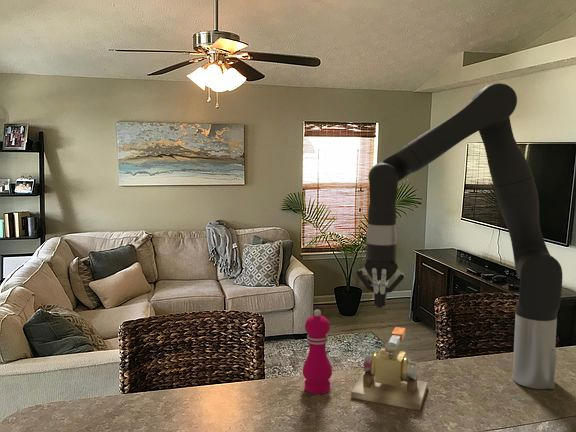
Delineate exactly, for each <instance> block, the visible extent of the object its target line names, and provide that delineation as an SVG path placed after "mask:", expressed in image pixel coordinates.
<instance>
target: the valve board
mask: <svg viewBox="0 0 576 432" xmlns="http://www.w3.org/2000/svg"><path fill="white" fill-rule="evenodd" d="M427 390H428V381H425V380H418V375H417V376H416V379H415V380H414V379H408V381H407V382H405V381H403V382H402V384H401V386H394V385H388V384H383V383H377V382H375V377H374V376H371V372H365V371H363V373H362V374H361V375H360V377H359V379H357V382H356V384H355V385H354V386H353V387H352V390H351V392H350V397H351V399H355V400H356V399H357V400H361V401H368V402H373V403H378V404H383V405H389V406H395V407H400V408H404V409H409V410H415V411H421V409H422V407H423V403H424V400H425V396H426V393H427Z"/></svg>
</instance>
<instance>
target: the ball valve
mask: <svg viewBox="0 0 576 432" xmlns="http://www.w3.org/2000/svg"><path fill="white" fill-rule="evenodd" d="M363 370H364V371H363V372H371V376H374V377H375V382H377V383H383V384H388V385H394V386H401V384H402V382H403V381H405V382H407V381H408V379H414V380H415V379H416V376H417V377H418V362H417V361H412V360H411V358H410V357H408V356H407V355H406V351H402V350H397V351H396V352H394V353H389V352H386V351H385V348H382V347H381V348H380V349H379V351H378V352H372V355H371V354H365V357H364V361H363Z"/></svg>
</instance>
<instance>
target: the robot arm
mask: <svg viewBox="0 0 576 432" xmlns="http://www.w3.org/2000/svg"><path fill="white" fill-rule="evenodd" d="M517 105H518V97H517V93H516V91H515V90H514V89H513V87H511V86H510V85H508V84H506V83H497V82H496V83H490V84H487V85H486V86H485V87H483V88H481V89H480V90H478V91H477V92H476V93H475V94H474V95H473V98H472V99H471V101H470V102H469V103H468V104H467V105H466V106H464V107H463V108H462V109H460V110H459V111H458V112H457V113H455V114H453V115H452V116H451V117H449V118H448V119H446V120H444V121H443V122H440V123H438V124H437V125H435V126H434V127H432V128H430V129H429V130H427V131H425V132H423V133H422V134H420V135H419V136H418V137H416V138H414V139H413V140H411V141H410V142H408V143H407V144H405V145H404V146H403V147H402V148H401V149H399V150H398V151H397V152H395V153H393V154H392V155H390V156H388V157H386V158H384V159H383V160H382V161H380V162H378V163H377V164H375V165H374V166H372V167H371V169H370V170H369V173H368V182H369V188H368V189H369V204H368V212H367V228H366V238H365V239H366V256H365V257H366V259H365V263H364V266H363V267H362V268H360V269H357V271H356V276H357V277H358V278H359V279H360V281H361V282H362V284H363V285H364V287H365V288H366V289H367V291H369V292H370V291H371V292H373V293H374V294H373V295H374V296H373V297H374V300H373V301H374V302H373V303H374V305H375V306H376V308H378V309H379V308H380V309H383V308H384V307H385V306H386V304H387V294H388V293H393V291H394V290H395V289H396V287H397V286H399V284H400V283H401V282H403V280H404V279H405V277H406V276H407V275H406V273H405V272H402V271H401V270H400V269H399V266H398V264H397V207H396V203H397V202H396V201H397V196H398V186H399V185H398V183H399V182H400V181H402V180H403V179H405V178H406V177H407V176H409V175H410V174H413V173H416V172H418V171H420V170H421V169H423V168H424V167H426V166H428V164H431V163H432V162H434V161H435V160H436V159H438V158H439V157H441V156H443V155H445V153H447V152H448V151H450V149H452V148H453V147H455V146H456V145H458V144H460V142H462V141H464V140H466V139H467V138H468V137H470V136H472V135H473V134H474V135H475V133H477V132H478V133H479V135H480V139H481V140H482V143H483V146H484V150H485V155H486V160H487V165H488V169H489V173H490V178H491V181H492V186H493V190H494V194H495V198H496V200H497V203H498V206H499V207H498V208H499V209H500V213H501V216H502V218H503V221H504V224H505V226H506V228H507V231H508V233H509V237H510V241H511V247H512V254H513V261H514V269H515V272H516V274H517V276H518V278H519V291H518V292H519V294H518V299H517V302H516V304H515V316H514V317H515V319H514V322H515V323H514V339H513V341H514V342H513V357H512V358H513V361H512V379H513V381H514V382H515V383H517V385H520V386H523V387H525V388H530V389H534V390H546V389H550V390H551V389H552V390H555V382H556V381H555V380H556V379H555V378H556V366H557V365H556V364H557V363H556V362H557V349H556V341H557V340H556V338H557V337H556V336H557V322H558V319H557V318H558V311H559V309H560V307H561V299H562V289H563V268H562V265H561V264H560V262H559V261H558V260H557V259H556V258H555V257H554V256H552V255H551V254H550V251H549V250H548V247H547V244H546V241H545V239H544V236H543V233H542V229H541V225H540V201H539V199H540V198H539V194H538V189H537V186H536V185H537V184H536V181H535V177H534V174H533V172H532V169H531V167H530V164H529V162H528V160H527V159H526V157H525V155H524V154H523V152H522V150H521V149H520V147H519V145H518V143H517V141H516V139H515V136H514V133H513V128H512V124H511V118H510V117H511V116H512V114H514V111H515V109H516V108H517ZM368 275H369V276H370V278H371V279H372V281H371V280H370V278H369V276H368ZM393 275H395V276H394V279H395V280H394V281H393V282H392V283H391V285H389V286H388V284H389V281H390V279H391V278H392V276H393Z"/></svg>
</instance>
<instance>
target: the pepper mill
mask: <svg viewBox="0 0 576 432" xmlns="http://www.w3.org/2000/svg"><path fill="white" fill-rule="evenodd" d="M330 328H331V327H330V322H329V320H328V318H326V316H324V315H322V312H321V310H320V309H315V310H313V315H311V316H309V317H308V318H307V319H306V320H305V323H304V330H305V332H306V333H307V335H306V338H307V339H306V341H307V343H308V345H309V346H308V354H307V356H306V359H305V360H304V362H303V366H302V375H303V377H304V378H305V380H304V390H305V391H306V392H307V393H310V394H313V395H323V394H326V393H328V392H329V391H330V389H331V381H330V379H331V377H332V375H333V368H332V365H331V362H330V360H329V358H328V356H327V352H326V350H327V349H326V345H327V343H328V333H329V331H330Z"/></svg>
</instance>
